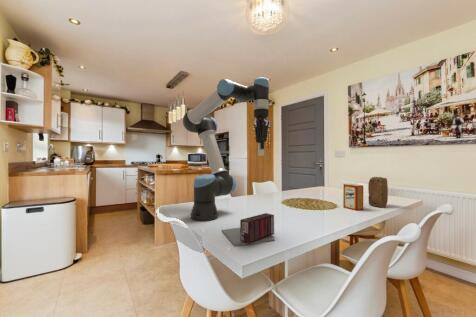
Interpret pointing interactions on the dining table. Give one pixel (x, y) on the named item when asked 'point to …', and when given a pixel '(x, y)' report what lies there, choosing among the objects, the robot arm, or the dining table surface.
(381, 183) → the block
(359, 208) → the baking soda box
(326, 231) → the dining table surface
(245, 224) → the supplement box
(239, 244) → the mat
